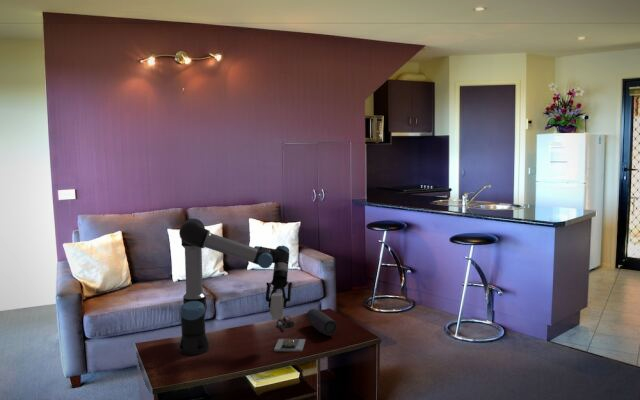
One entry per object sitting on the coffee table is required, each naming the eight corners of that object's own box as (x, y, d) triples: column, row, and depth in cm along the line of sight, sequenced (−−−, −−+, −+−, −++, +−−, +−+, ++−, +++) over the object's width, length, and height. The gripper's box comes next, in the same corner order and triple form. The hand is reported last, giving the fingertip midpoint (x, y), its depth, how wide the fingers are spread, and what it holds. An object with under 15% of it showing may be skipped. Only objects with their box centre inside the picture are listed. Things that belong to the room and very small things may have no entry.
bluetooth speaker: (305, 326, 296) (304, 309, 295) (320, 323, 300) (319, 306, 299) (322, 339, 276) (321, 320, 275) (338, 336, 279) (337, 318, 278)
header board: (274, 351, 261) (274, 349, 261) (278, 340, 275) (278, 338, 275) (302, 351, 260) (302, 349, 260) (305, 341, 274) (305, 338, 273)
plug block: (272, 319, 262) (270, 296, 261) (274, 315, 268) (273, 292, 267) (282, 319, 262) (280, 296, 261) (283, 315, 268) (282, 292, 267)
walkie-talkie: (274, 321, 306) (282, 333, 287) (274, 314, 306) (282, 325, 287) (289, 320, 309) (297, 331, 290) (289, 312, 308) (297, 323, 289)
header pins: (281, 348, 262) (281, 340, 261) (282, 346, 263) (281, 339, 263) (295, 348, 261) (295, 340, 261) (295, 347, 263) (295, 339, 262)
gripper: (298, 276, 278) (295, 316, 263) (264, 276, 279) (260, 317, 265) (296, 268, 272) (293, 309, 257) (262, 269, 274) (257, 310, 259)
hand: (276, 313), depth 261 cm, fingers closed on plug block, 5 cm apart
